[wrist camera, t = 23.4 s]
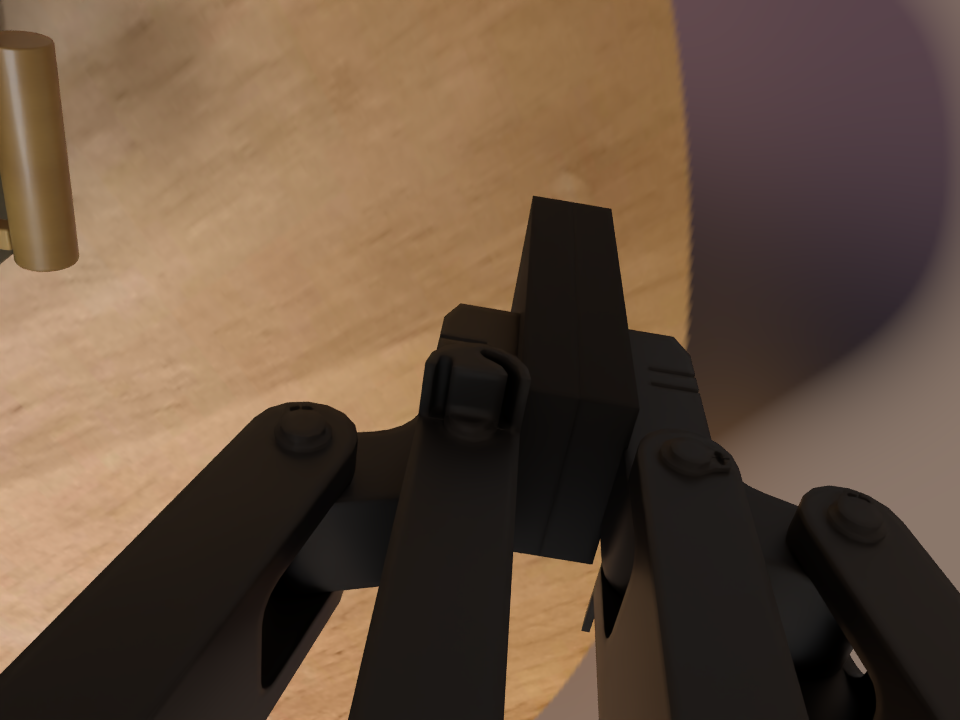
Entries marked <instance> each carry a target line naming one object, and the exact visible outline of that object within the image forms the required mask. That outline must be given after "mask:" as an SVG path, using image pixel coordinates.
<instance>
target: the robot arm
mask: <svg viewBox="0 0 960 720" xmlns="http://www.w3.org/2000/svg"><path fill="white" fill-rule="evenodd" d="M694 376H695V373H694V369H693V365H692V361H691V357H690V355H689V354H688V353H687V351H686V350H685V349H684V348H683V347H682V346H681V345H680V344H679V342H678V341H677V340H676V339H675V338H674V337H671V336H665V335H659V334H653V333H647V332H641V331H636V330H630V329H628V323H627V316H626V309H625V301H624V294H623V287H622V280H621V273H620V266H619V259H618V252H617V245H616V238H615V231H614V224H613V217H612V210H611V209H609V208H603V207H597V206H591V205H585V204H579V203H574V202H568V201H562V200H556V199H550V198H544V197H538V196H533V199H532V204H531V210H530V215H529V220H528V225H527V230H526V236H525V241H524V246H523V251H522V257H521V262H520V267H519V272H518V277H517V283H516V288H515V293H514V298H513V304H512V309H511V312H508V311H503V310H497V309H491V308H485V307H479V306H473V305H467V304H461V303H460V304H459V305H458V306H457V307H456V308H454V309H453V310H452V311H451V312H450V313H448V314H447V315H446V316H445V317H444V321H443V325H442V329H441V334H440V338H439V342H438V347H437V350H435V351H434V352H432V353H431V355H430V356H429V358H428V359H427V361H426V362H425V370H424V377H423V385H422V392H421V400H420V407H419V414H418V415H417V416H416V417H415V418H414V419H413V420H411V421H409V422H408V423H406V424H404V425H402V426H399V427H396V428H393V429H389V430H382V431H375V432H357V431H356V427H355V424H354V423H353V422H352V421H351V420H350V419H349V418H348V417H347V416H346V415H345V414H344V413H342V412H340V411H338V410H336V409H334V408H332V407H330V406H328V405H323V404H317V403H312V402H289V403H284V404H281V405H277V406H274V407H270V408H268V409H266V410H265V411H263V412H262V413H261V414H259V415H258V416H256V417H255V418H254V419H253V420H252V421H251V422H250V423H249V424H248V425H247V426H246V427H245V428H244V429H243V430H242V431H241V432H240V433H239V434H238V435H237V436H236V437H235V438H234V439H233V440H232V441H231V442H230V443H229V444H228V445H227V446H226V447H225V448H224V449H223V450H222V451H221V452H220V453H219V454H218V455H217V456H216V457H215V458H214V459H213V460H212V461H211V462H210V463H209V464H208V465H207V466H206V467H205V468H204V469H203V470H202V471H201V472H200V473H199V474H198V475H197V476H196V477H195V478H194V479H193V480H192V481H191V482H190V483H189V484H188V485H187V486H186V487H185V488H184V489H183V490H182V491H181V492H180V493H179V494H178V495H177V496H176V497H175V498H174V499H173V500H172V501H171V502H170V503H169V504H168V505H167V506H166V507H165V508H164V509H163V510H162V511H161V512H160V513H159V514H158V515H157V516H156V518H155V519H154V520H153V521H152V522H151V523H150V524H149V525H148V526H147V527H146V528H145V529H144V530H143V531H142V532H141V533H140V534H139V535H138V536H137V537H136V538H135V539H134V540H133V541H132V542H131V543H130V544H129V545H128V546H127V547H126V548H125V549H124V550H123V551H122V552H121V553H120V554H119V555H118V556H117V557H116V558H115V559H114V560H113V561H112V562H111V563H110V564H109V565H108V566H107V567H106V568H105V569H104V570H103V571H102V572H101V573H100V574H99V575H98V576H97V577H96V578H95V579H94V580H93V581H92V582H91V583H90V584H89V585H88V586H87V587H86V588H85V589H84V590H83V591H82V592H81V593H80V594H79V595H78V596H77V597H76V598H75V599H74V600H73V601H72V602H71V603H70V604H69V605H68V606H67V607H66V608H65V609H64V610H63V611H62V612H61V613H60V614H59V615H58V617H57V618H56V619H55V620H54V621H53V622H52V623H51V624H50V625H49V626H48V627H47V628H46V629H45V630H44V631H43V632H42V633H41V634H40V635H39V636H38V637H37V638H36V639H35V640H34V641H33V642H32V643H31V644H30V645H29V646H28V647H27V648H26V649H25V650H24V651H23V652H22V653H21V654H20V655H19V656H18V657H17V658H16V659H15V660H14V661H13V662H12V663H11V664H10V665H9V666H8V667H7V668H6V669H5V670H4V671H3V672H2V673H1V674H0V720H266V719H267V717H268V716H269V714H270V713H271V711H272V709H273V708H274V706H275V705H276V703H277V701H278V700H279V698H280V697H281V695H282V693H283V692H284V690H285V689H286V687H287V685H288V684H289V682H290V681H291V679H292V677H293V676H294V674H295V673H296V671H297V669H298V668H299V666H300V665H301V663H302V661H303V660H304V658H305V657H306V655H307V653H308V652H309V650H310V649H311V647H312V645H313V644H314V642H315V641H316V639H317V637H318V636H319V634H320V633H321V631H322V629H323V628H324V626H325V625H326V623H327V621H328V620H329V618H330V616H331V615H332V613H333V612H334V610H335V608H336V607H337V605H338V604H339V602H340V600H341V597H342V594H343V591H344V590H350V589H359V588H369V587H378V586H379V588H378V593H377V597H376V601H375V606H374V610H373V614H372V619H371V623H370V627H369V632H368V636H367V640H366V645H365V649H364V653H363V658H362V662H361V666H360V670H359V675H358V679H357V683H356V688H355V692H354V696H353V701H352V705H351V709H350V714H349V718H348V720H504V704H505V686H506V669H507V651H508V634H509V616H510V598H511V581H512V563H513V552H519V553H525V554H531V555H537V556H543V557H549V558H555V559H561V560H567V561H574V562H580V563H586V564H593V560H594V557H595V554H596V551H597V547H598V544H599V541H600V540H601V557H602V563H601V567H600V570H599V573H598V576H597V579H596V583H595V586H594V589H593V592H592V595H591V598H590V602H589V605H588V608H587V611H586V614H585V618H584V622H583V626H582V630H581V631H586V632H590V629H591V626H592V622H593V619H595V642H596V663H597V664H596V665H597V687H598V709H599V720H960V593H959V592H958V590H956V588H955V587H954V585H953V584H952V583H951V582H950V580H949V579H948V578H947V577H946V575H945V574H944V573H943V572H942V570H941V569H940V568H939V567H938V565H937V564H936V563H935V562H934V560H933V559H932V558H931V556H930V555H929V554H928V553H927V551H926V550H925V549H924V548H923V547H922V545H921V544H920V543H919V542H918V540H917V539H916V538H915V536H914V535H913V534H912V533H911V531H910V530H909V529H908V528H907V526H906V525H905V524H904V523H903V522H902V521H901V520H900V519H899V518H898V517H897V516H896V515H895V514H894V513H893V512H892V511H891V510H890V509H889V508H888V507H886V506H885V505H883V504H881V503H879V502H878V501H876V500H875V499H873V498H872V497H870V496H868V495H865V494H863V493H860V492H858V491H855V490H852V489H849V488H842V487H836V486H824V487H817V488H813V489H811V490H810V491H809V492H807V493H806V494H805V495H804V496H803V497H802V499H801V502H800V504H799V506H796V505H794V504H791V503H789V502H786V501H783V500H781V499H778V498H775V497H773V496H770V495H768V494H765V493H763V492H761V491H758V490H756V489H754V488H752V487H750V486H748V485H747V484H745V483H744V482H742V478H741V474H740V471H739V468H738V466H737V464H736V462H735V461H734V459H733V457H732V455H731V454H729V453H728V452H727V451H726V450H725V449H724V448H723V447H722V446H720V445H719V444H717V443H716V442H714V441H712V440H711V436H710V432H709V428H708V424H707V420H706V416H705V412H704V409H703V405H702V401H701V397H700V394H699V393H698V390H699V389H698V385H697V381H696V378H694ZM853 649H854V651H855V652H856V654H857V655H858V657H859V658H860V660H861V662H862V663H863V665H864V667H865V668H866V670H867V672H866V673H865V674H863V673H862V672H861V671H860V670H859V668H858V667H857V666H856V664H855V663H854V661H853V660H852V658H851V656H850V653H851V651H852V650H853Z"/></svg>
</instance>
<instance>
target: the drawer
mask: <svg viewBox="0 0 960 720" xmlns="http://www.w3.org/2000/svg"><path fill="white" fill-rule="evenodd" d="M12 254H14V260H15V262H16V263H17V265H19V266H20V267H22V268H24V269H27V270H31V271H37V272H50V271H58V270H62V269H65V268H68V267H70V266H72V265H74V264H75V263H76V262H77V261H78V259H79V250H78V242H77V233H76V224H75V216H74V207H73V199H72V190H71V182H70V173H69V165H68V156H67V147H66V139H65V130H64V122H63V113H62V105H61V96H60V88H59V79H58V70H57V62H56V53H55V45H54V41H53V40H52V39H51V38H50V37H48V36H45V35H42V34H38V33H34V32H27V31H11V30H10V31H0V264H1V263H2V262H4V261H5V260H6V259H7V258H8V257H10V256H11V255H12Z"/></svg>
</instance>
